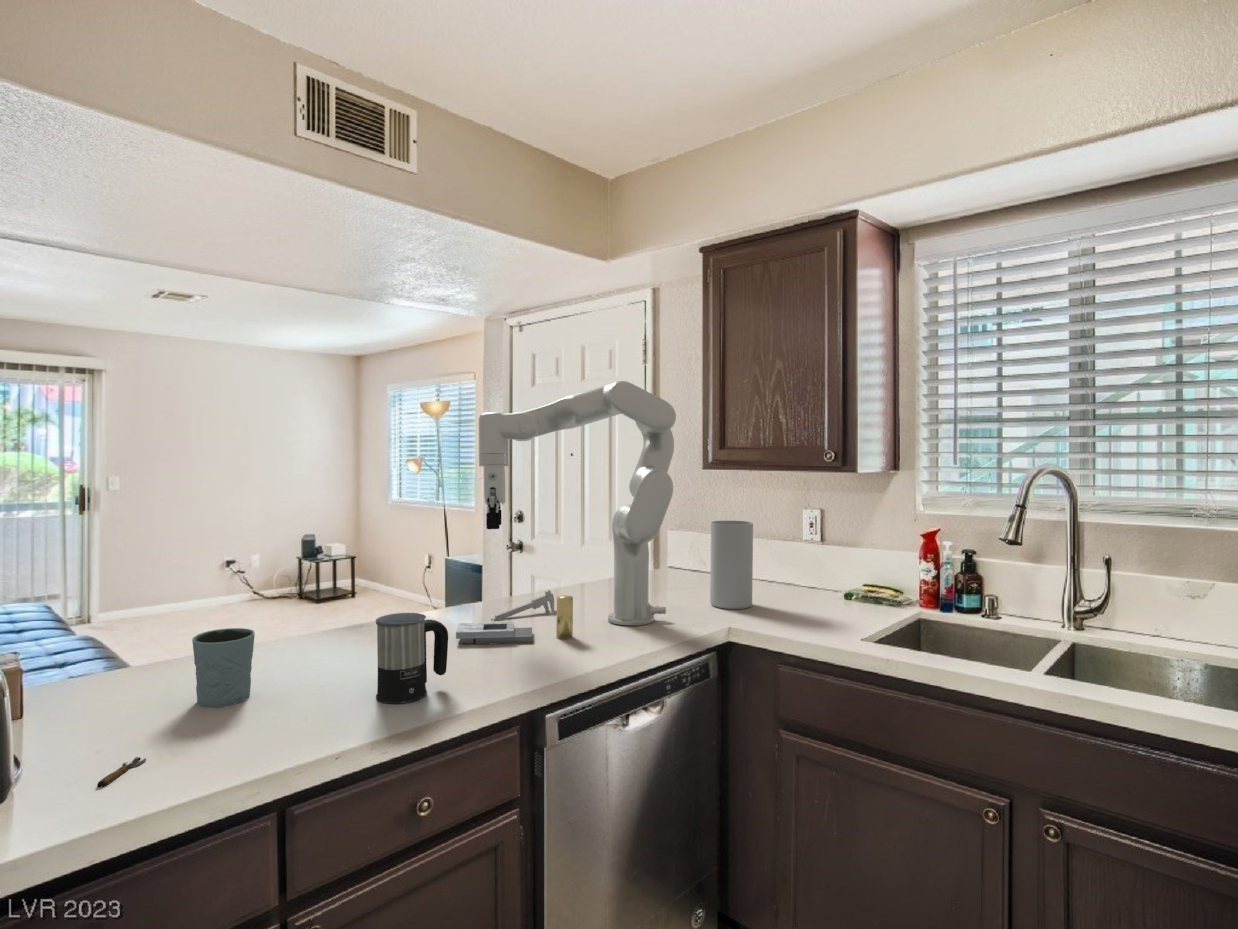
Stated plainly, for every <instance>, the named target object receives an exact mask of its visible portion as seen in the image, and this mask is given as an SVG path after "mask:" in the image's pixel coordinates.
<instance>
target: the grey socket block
mask: <svg viewBox="0 0 1238 929" xmlns="http://www.w3.org/2000/svg"><path fill="white" fill-rule="evenodd" d="M455 639H456V640H457V639H458V640H459V639H460V644H461V643H472V644H476V645H491V644H490V643H509V644H529V643H528V642H531V643H530V644H532V643H533V627H515V622H514V621H504V622H502V621H501V622H495V621H492V622H465V623H464V622H461V623H458V626H457V629H456V632H455Z"/></svg>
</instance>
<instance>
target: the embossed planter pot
mask: <svg viewBox="0 0 1238 929" xmlns="http://www.w3.org/2000/svg"><path fill="white" fill-rule="evenodd" d="M255 635H256V633H255V630H253V629H251V628H244V627H229V628H219V629H218V628H217V629H213V630H208V631H203V632H200V633H198V634H197V635H195V636H193V637H192V643H191V644H192V650H193V657H194V658H193V660H194V665H195V680H196V687H195V689H196V690H195V692H196V701H197V704H198V705H199V706H201V705H202V706H201V707H204V706H205V707H206V706H207V707H206V708H218V707H219V706H221V707H227V706H226V705H228V706H232V705H235V703H236V704H239V703H242V702H244V701H246V700H247V699H249V698H250V695H251V689H252V688H251V687H252V686H251V685H252V678H251V673H252V663H253V662H252V661H253V660H252V659H253V657H254V656H253V655H254V648H255V647H254V644H255ZM248 697H249V698H248ZM245 699H246V700H245ZM238 702H239V703H238ZM219 708H220V707H219Z"/></svg>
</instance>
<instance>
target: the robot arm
mask: <svg viewBox="0 0 1238 929" xmlns="http://www.w3.org/2000/svg"><path fill="white" fill-rule="evenodd" d="M621 414H622V415H623V416H624V417H627V418H628V419H631V420H632V421H634V423H635V424H636V426H637V428H638V430H639V431H640V433H641V435H642V439H643V441H642V442H643V444H642V450H641V452H640V456H639V458H638V461H637V464H636V467H635V468H634V472H633V473H632V476H631V478H630V481H629V486H628V489H629V493H630V494H631V496H632V497H633V499H632V502H631V504H625V505H623V506H621V507H620V508H618V509H617V510H616V512H615V513H614V515H613V517H612V525H611V526H612V527H611V528H612V529H611V531H612V539H613V557H614V558H613V612H612V613H609V614H608V616H607V620H608V621H607V622H610V623H611V624H614V625H620V626H630V627H631V626H634V627H635V626H643V625H645V626H646V625H649V624H652V623H654V621H655V615H657V614H658V615H666V614H667V608H666V606H660V605H652V604H651V603H650V602H649V599H650V598H649V594H650V593H649V588H650V586H649V585H650V584H649V583H650V582H649V578H650V575H649V574H650V571H649V570H650V566H649V565H650V551H649V550H650V549H649V548H650V547H649V542H651V541H653V540H654V539H655V537H656V536H657V534H658V533H659V531H660V529H661V527H662V525H663V521H664V519H665V516H666V514H667V511H668V508H669V505H670V504H671V500H672V497H673V495H674V483H673V480H672V477H671V476H670V475H669V474H668V471H669V469H670V465H671V463H672V462H671V461H672V459H673V456H674V451H675V440H674V435H673V432H672V428H673V426H674V425H675V423H676V419H677V414H676V410H675V408H674V407H673V405H672V404H671V403H670V402H668V401H666V400H665V399H663V398H661V397H659V396H658V395H655V394H653V393H651V392H649V391H648V390H645V389H644V388H642V387H640V386H638V385H635V384H633V383H631V382H628V381H626V380H619V381H616V382H612V383H609V384H606V385H603V386H599V387H595V388H593V389H589V390H586V391H585V390H584V391H582V392H579V393H575V394H572V395H568V396H566V397H563V398H561V399H558V400H556V401H554V402H551V403H549V404H546V405H543V406H540V407H536V408H532V409H530V410H529V409H528V410H526V411H520V412H513V413H512V412H511V413H504V412H503V413H502V412H483V413H481V414H480V415H479V417H478V467H483V494H484V496H483V497H484V504H485V505H486V506H487V508H486V513H485V514H486V521H485V522H486V523H485V524H486V530H499V529H500V526H501V525H502V509H501V507H502V506H503V505H505V503H506V501H507V500H506V470H505V468H506V467H509V440H512V441H513V440H514V441H517V442H527V441H528V442H529V441H531V440H534V438H537V437H539V436H542V435H543V436H544V435H547V434H551V433H554V432H557V431H561V430H562V431H563V430H571V429H575V428H579V427H582V426H585V425H589V424H592V423H595V422H598V421H601V420H604V419H608V418H611V417H615V416H617V415H618V416H619V415H621Z"/></svg>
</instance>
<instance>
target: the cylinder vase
mask: <svg viewBox="0 0 1238 929" xmlns="http://www.w3.org/2000/svg"><path fill="white" fill-rule="evenodd" d="M753 549H754V522H752V521H744V520H713V521H710V574H709V575H710V578H709V579H710V580H709V581H710V583H709V586H710V588H709V589H710V591H709V592H710V594H709V596H710V597H709V598H710V599H709V600H710V601H709V602H710V603H709V604H711V606H713V607H715V606H716V607H715V608H718V607H719V609H722V608H724V609H723V610H745V609H748V608H751V607H752V606H753V580H754V579H753V576H754V575H753V568H754V566H753V564H754V562H753V560H754V558H753V557H754V556H753V555H754V550H753Z"/></svg>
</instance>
